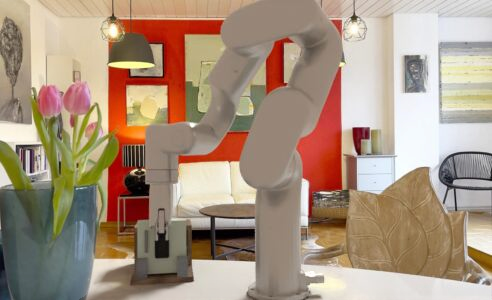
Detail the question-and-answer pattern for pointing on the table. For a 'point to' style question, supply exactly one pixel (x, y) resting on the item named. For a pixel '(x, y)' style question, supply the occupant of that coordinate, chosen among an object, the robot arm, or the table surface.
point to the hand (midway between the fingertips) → (162, 255)
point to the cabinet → (166, 276)
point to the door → (147, 245)
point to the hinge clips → (143, 267)
